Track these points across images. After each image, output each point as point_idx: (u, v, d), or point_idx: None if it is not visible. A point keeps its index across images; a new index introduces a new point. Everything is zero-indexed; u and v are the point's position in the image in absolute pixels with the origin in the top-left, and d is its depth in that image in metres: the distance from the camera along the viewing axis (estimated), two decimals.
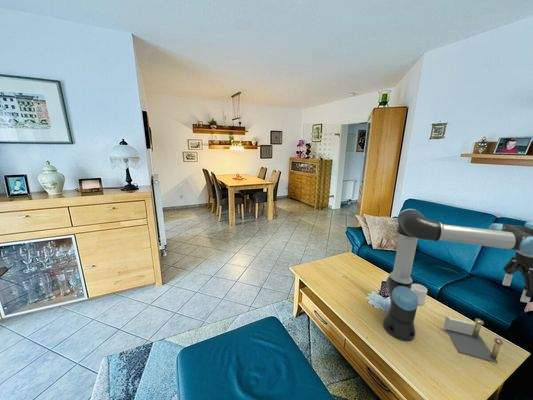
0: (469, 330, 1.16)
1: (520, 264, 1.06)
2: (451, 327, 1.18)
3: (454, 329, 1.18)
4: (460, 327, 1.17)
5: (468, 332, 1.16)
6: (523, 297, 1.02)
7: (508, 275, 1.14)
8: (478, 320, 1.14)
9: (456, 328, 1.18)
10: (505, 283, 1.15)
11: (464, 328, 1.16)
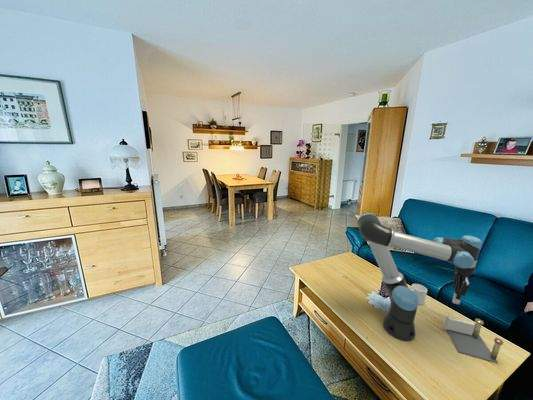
0: (469, 330, 1.16)
1: None
2: (451, 327, 1.18)
3: (454, 329, 1.18)
4: (460, 327, 1.17)
5: (468, 332, 1.16)
6: (454, 299, 1.20)
7: None
8: (478, 320, 1.14)
9: (456, 328, 1.18)
10: None
11: (464, 328, 1.16)
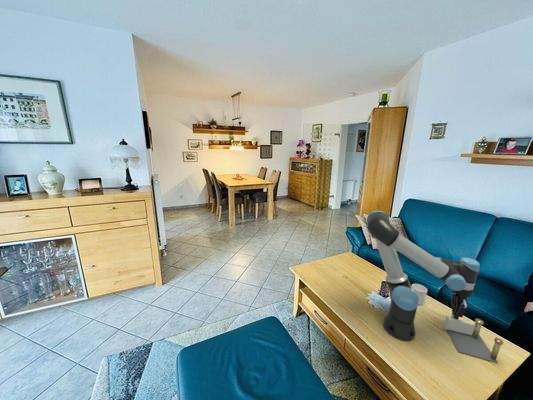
0: (469, 330, 1.16)
1: None
2: (451, 327, 1.18)
3: (454, 329, 1.18)
4: (460, 327, 1.17)
5: (468, 332, 1.16)
6: None
7: None
8: (478, 320, 1.14)
9: (456, 328, 1.18)
10: None
11: (464, 328, 1.16)
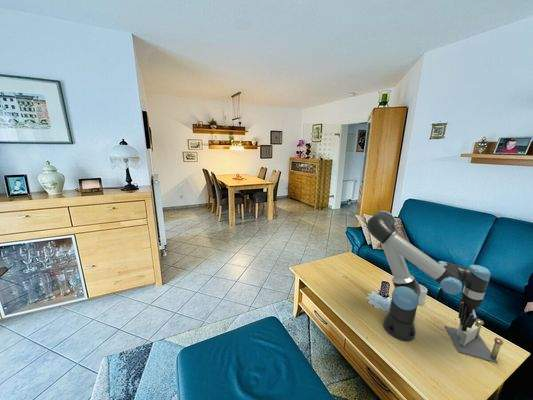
0: (474, 334, 1.13)
1: None
2: (467, 341, 1.10)
3: (468, 341, 1.11)
4: (471, 336, 1.11)
5: (474, 336, 1.13)
6: (460, 330, 1.13)
7: None
8: (478, 320, 1.14)
9: (469, 339, 1.11)
10: None
11: (473, 335, 1.12)
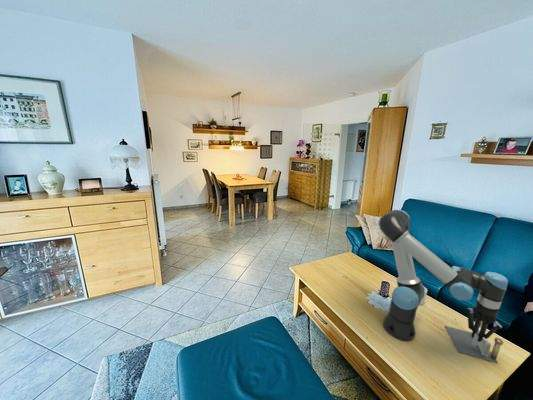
0: None
1: None
2: None
3: None
4: None
5: None
6: (476, 342, 1.07)
7: None
8: None
9: None
10: None
11: None
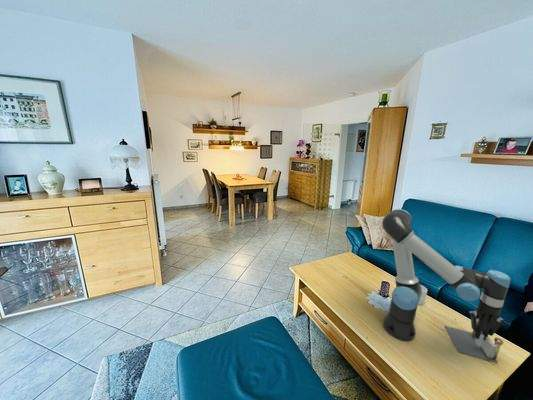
0: None
1: None
2: None
3: None
4: None
5: None
6: None
7: None
8: None
9: None
10: None
11: None
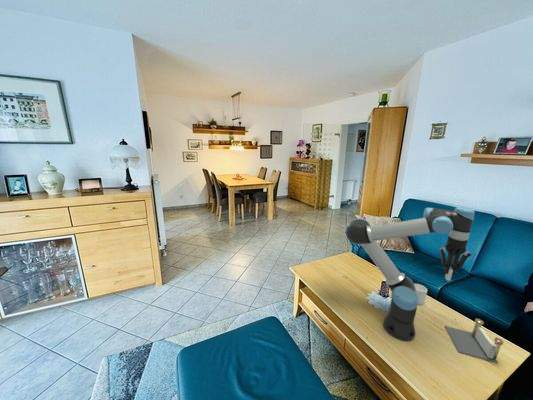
0: None
1: None
2: None
3: None
4: None
5: None
6: None
7: None
8: (478, 320, 1.14)
9: None
10: None
11: None
